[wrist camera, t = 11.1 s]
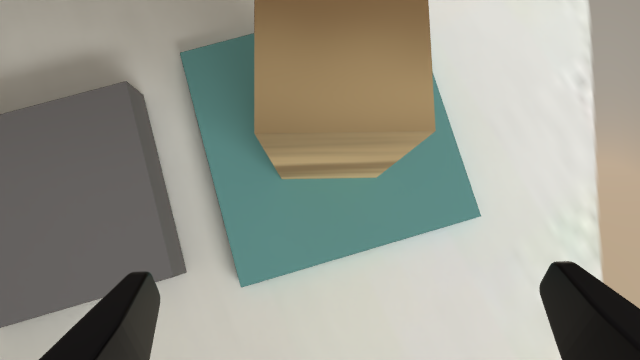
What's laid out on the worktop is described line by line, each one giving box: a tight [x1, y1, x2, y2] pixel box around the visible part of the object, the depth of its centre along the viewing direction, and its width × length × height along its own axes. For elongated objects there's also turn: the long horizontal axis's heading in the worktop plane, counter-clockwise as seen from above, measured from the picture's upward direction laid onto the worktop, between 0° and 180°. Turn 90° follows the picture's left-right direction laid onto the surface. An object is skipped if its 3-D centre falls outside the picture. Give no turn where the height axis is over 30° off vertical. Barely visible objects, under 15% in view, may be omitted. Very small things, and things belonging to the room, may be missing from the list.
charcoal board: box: [0, 81, 186, 328], centre depth 20 cm, size 10×10×2 cm
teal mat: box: [180, 33, 481, 287], centre depth 21 cm, size 13×13×1 cm
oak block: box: [254, 0, 436, 179], centre depth 16 cm, size 5×5×10 cm
